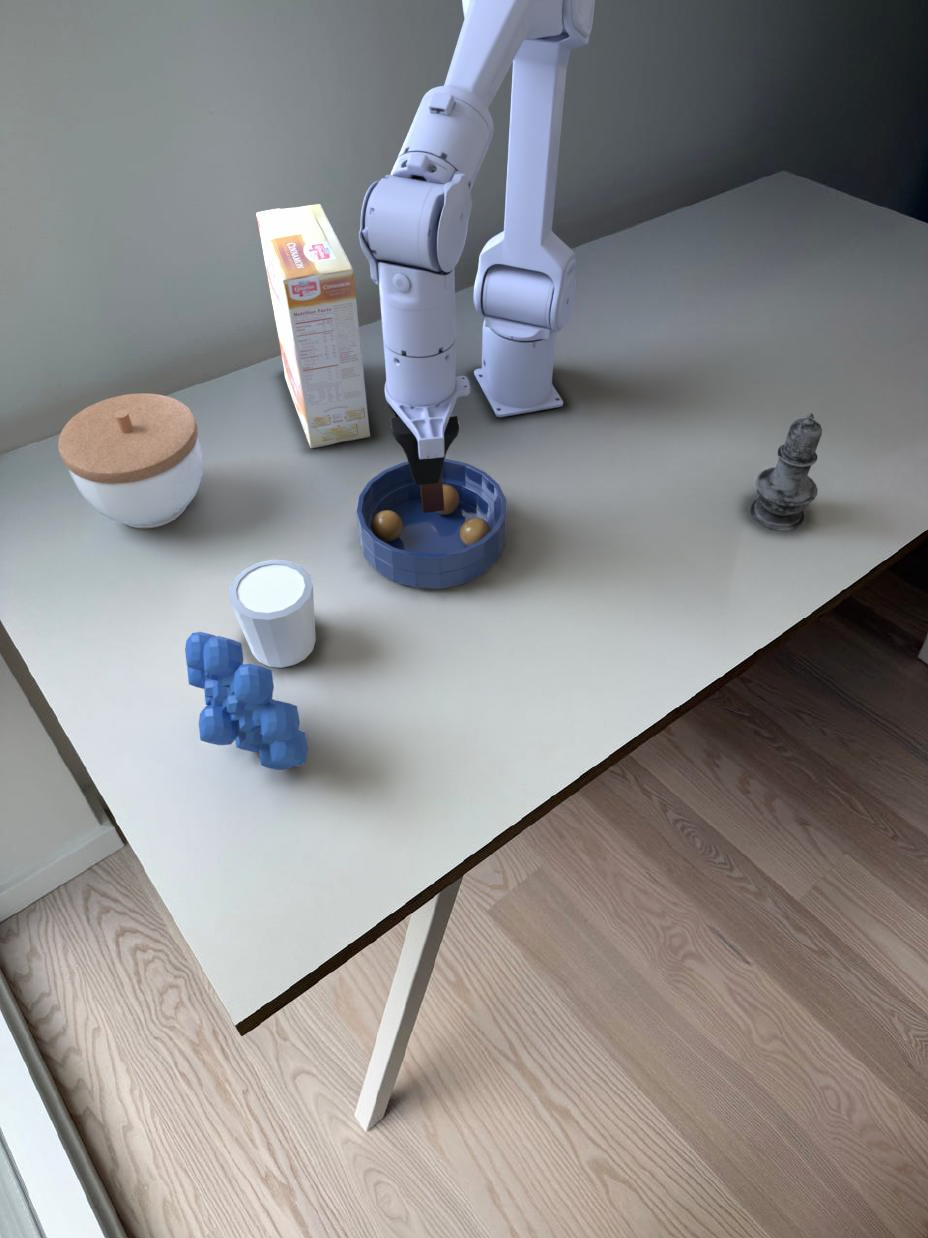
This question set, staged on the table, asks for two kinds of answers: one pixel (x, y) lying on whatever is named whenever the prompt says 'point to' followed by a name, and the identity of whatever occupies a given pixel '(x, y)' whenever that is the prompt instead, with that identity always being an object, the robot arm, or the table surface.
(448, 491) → the bead
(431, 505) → the stick
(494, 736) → the table surface
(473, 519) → the bead
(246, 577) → the white cylinder
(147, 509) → the lidded bowl
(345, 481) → the table surface
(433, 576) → the bowl
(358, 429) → the coffeecake box
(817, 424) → the grey chess piece
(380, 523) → the bead
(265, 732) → the grapes
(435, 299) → the robot arm
